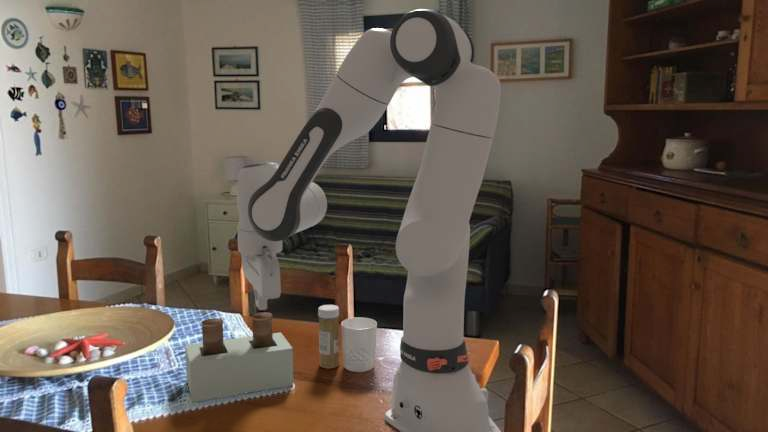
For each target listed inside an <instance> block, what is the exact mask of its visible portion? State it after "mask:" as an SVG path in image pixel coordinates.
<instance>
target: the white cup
mask: <svg viewBox="0 0 768 432" xmlns="http://www.w3.org/2000/svg"><path fill="white" fill-rule="evenodd" d="M340 326H341V327H340V328H341V329H340V331H341V345H342V357H343V367H344V369H346V370H347V371H350V372H354V373H365V372H368V371H371V370H372V369H373V368H374V367H375V356H376V348H377V333H378V332H377V329H378V328H377V327H378V322H377V321H376V320H375V319H373V318H369V317H361V316H360V317H357V316H356V317H350V318H345V319H344V320H342V321H341V323H340Z"/></svg>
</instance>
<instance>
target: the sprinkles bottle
mask: <svg viewBox="0 0 768 432" xmlns="http://www.w3.org/2000/svg"><path fill="white" fill-rule="evenodd" d="M317 309H318V310H317V316H318V352H319V361H318V365H319V367H321V368H323V369H334V368H338V367H339V365H340V361H339V356H340V352H339V351H340V344H339V333H340V332H339V316H340V308H339V306H338V305H335V304H323V305H320V306H319V307H318V308H317Z"/></svg>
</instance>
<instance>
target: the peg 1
mask: <svg viewBox="0 0 768 432" xmlns="http://www.w3.org/2000/svg"><path fill="white" fill-rule="evenodd" d="M201 334H202V343H203V356H209V355H216V354H223V353H224V343H223V340H224V320H223V318H217V317H214V318H213V317H211V318H206V319H204V320H202V321H201Z"/></svg>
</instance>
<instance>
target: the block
mask: <svg viewBox="0 0 768 432" xmlns="http://www.w3.org/2000/svg"><path fill="white" fill-rule="evenodd" d="M272 334H273V346H272V347H265V348H258V349H253V335H251V336H244V337H243V336H242V337H237V338H229V339H228V338H227V339H223V343H224V353H223V354H216V355H209V356H203V342H198V343H192V344H185V345H184V349H185V350H184V351H185V370H186V371H185V372H186V373H185V374H186V384H187V383H188V385H187V388H188V387H189V389H188V392H189V391H190V393H189V396H190V395H191V397H190V400H191V403H196V402H202V401H208V400H213V399H214V398H215V399H219V398H220V397H221V398H225V396H227V397H231V396H230V395H233V396H236V395H235V394H239V395H243V394H242V393H245V394H247V393H246V392H250V393H255V392H254V391H256V392H261V391H267V390H274V389H279V388H284V387H291V386H294V353H293V352H294V351H293V349H294V347H292V345H291V344H290V343H289V341H288V339H286V337H285V335H283V333H282V332H281V331H280V332H274V333H273V332H272ZM260 390H261V391H260ZM221 398H220V399H221ZM215 399H214V400H215Z"/></svg>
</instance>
